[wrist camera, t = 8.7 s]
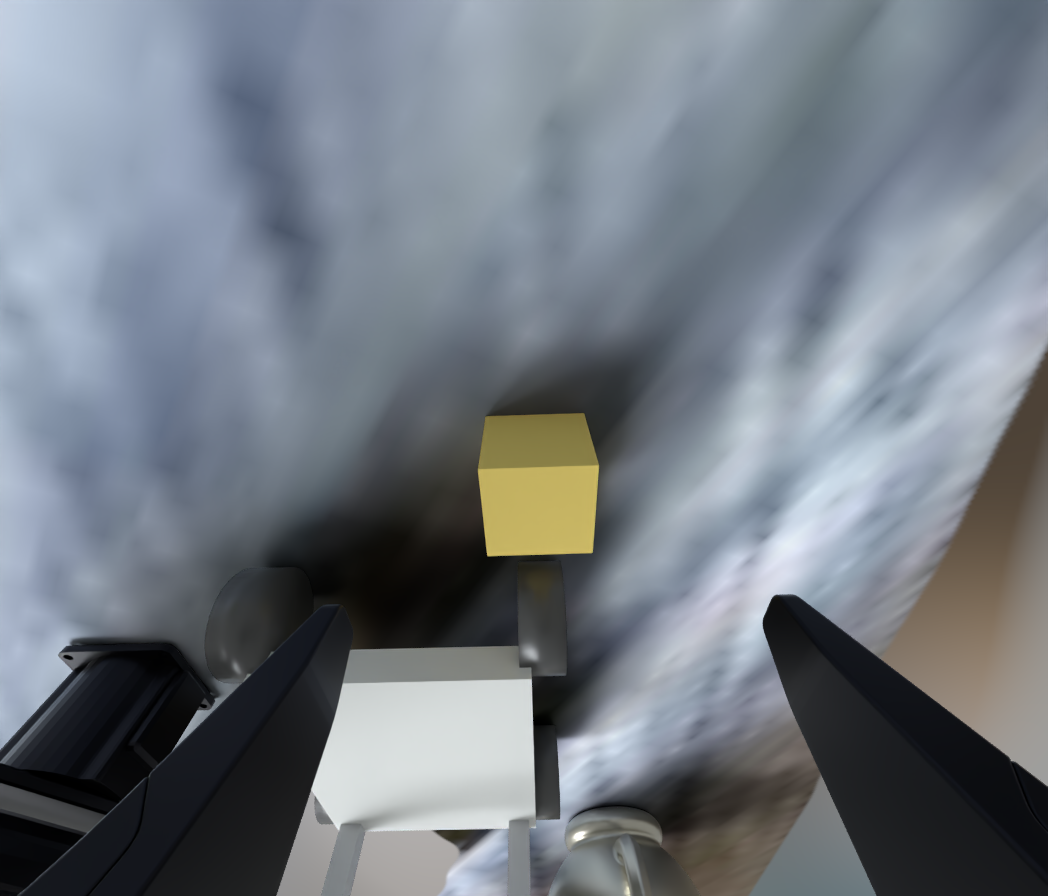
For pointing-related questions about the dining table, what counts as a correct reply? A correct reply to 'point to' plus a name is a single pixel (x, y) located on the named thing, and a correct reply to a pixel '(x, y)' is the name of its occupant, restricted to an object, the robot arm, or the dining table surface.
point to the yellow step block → (538, 484)
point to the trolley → (417, 720)
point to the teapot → (618, 857)
